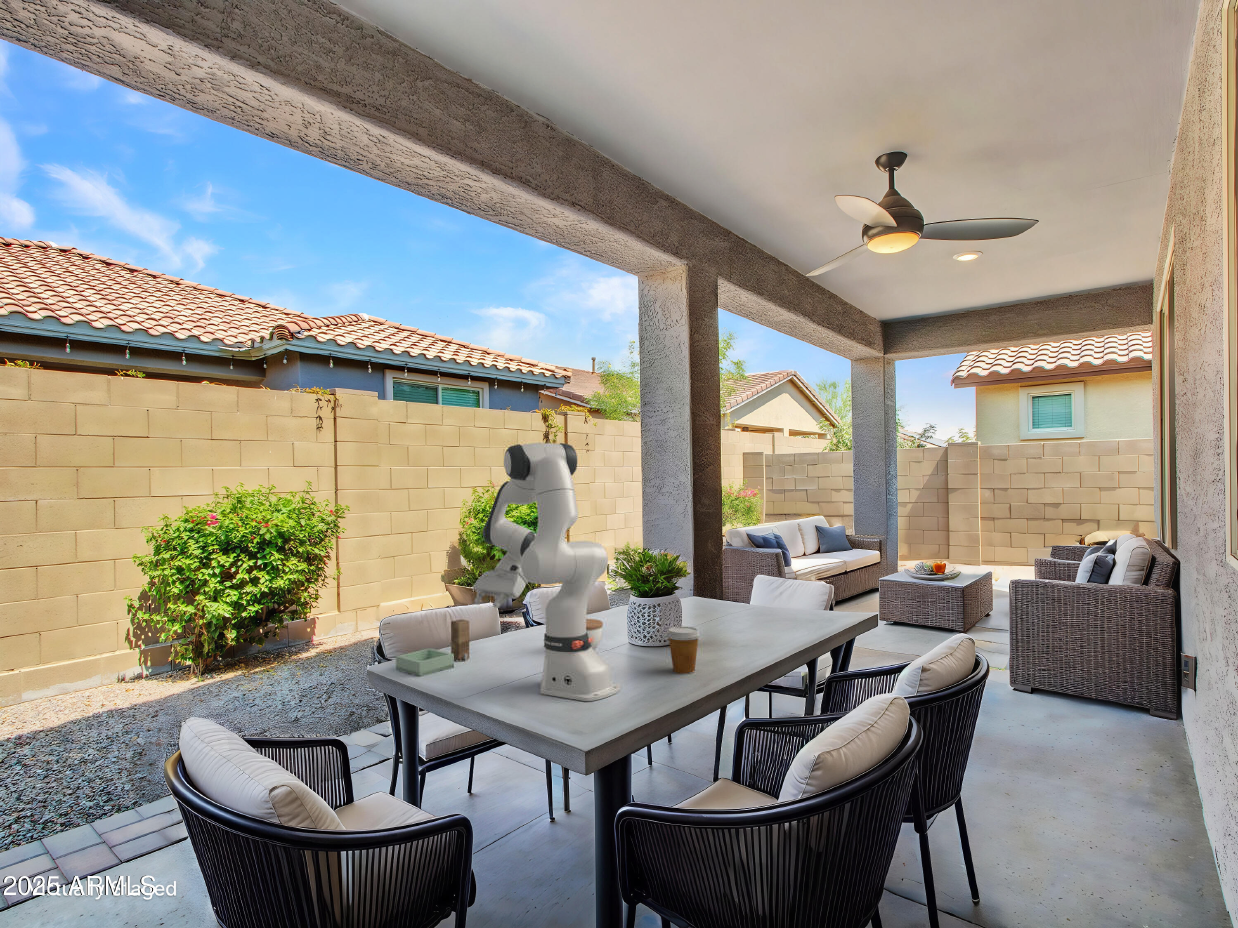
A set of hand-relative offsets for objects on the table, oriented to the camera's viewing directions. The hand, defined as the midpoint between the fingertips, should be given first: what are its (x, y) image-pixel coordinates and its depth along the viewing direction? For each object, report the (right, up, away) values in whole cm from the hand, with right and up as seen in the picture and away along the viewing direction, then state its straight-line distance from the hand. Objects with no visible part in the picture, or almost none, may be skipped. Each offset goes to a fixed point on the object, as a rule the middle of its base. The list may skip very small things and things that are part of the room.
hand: (485, 604), depth 214 cm
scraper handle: (-6, -15, -9) cm, 19 cm away
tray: (-14, -15, -19) cm, 28 cm away
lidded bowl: (+32, -15, +1) cm, 36 cm away
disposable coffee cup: (+63, -14, -24) cm, 69 cm away
